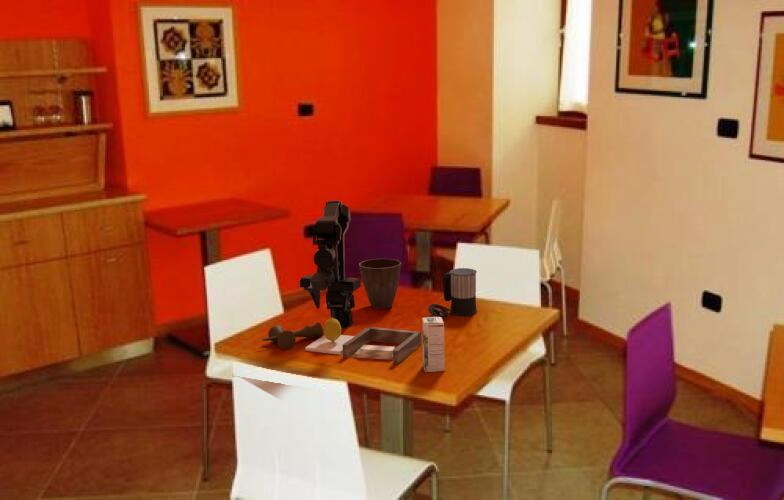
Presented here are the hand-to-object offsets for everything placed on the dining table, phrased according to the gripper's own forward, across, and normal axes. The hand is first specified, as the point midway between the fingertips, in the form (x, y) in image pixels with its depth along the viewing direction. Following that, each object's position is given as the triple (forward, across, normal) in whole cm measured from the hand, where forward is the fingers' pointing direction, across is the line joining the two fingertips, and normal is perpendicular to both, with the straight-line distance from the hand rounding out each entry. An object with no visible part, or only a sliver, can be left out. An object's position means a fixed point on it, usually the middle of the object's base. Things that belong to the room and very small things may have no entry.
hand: (331, 309), depth 250 cm
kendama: (+12, -14, -1) cm, 18 cm away
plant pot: (+12, -3, +43) cm, 45 cm away
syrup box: (+12, +37, -9) cm, 40 cm away
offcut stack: (+12, +17, -5) cm, 21 cm away
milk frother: (+12, +25, +42) cm, 50 cm away
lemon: (+11, 0, 0) cm, 11 cm away
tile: (+12, 0, 0) cm, 12 cm away
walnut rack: (+12, +17, 0) cm, 21 cm away
